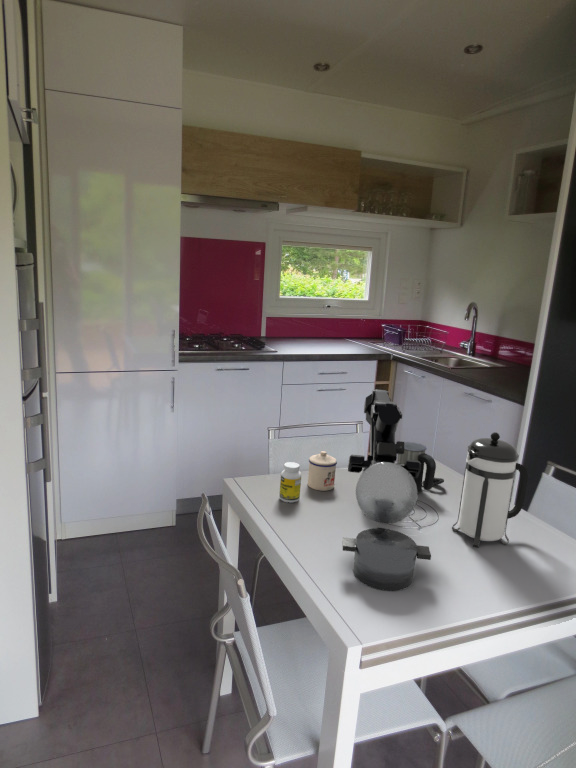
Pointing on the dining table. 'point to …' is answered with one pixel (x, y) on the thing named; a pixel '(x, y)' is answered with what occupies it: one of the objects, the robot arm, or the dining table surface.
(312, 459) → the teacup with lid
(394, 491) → the pot lid
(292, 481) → the pill bottle
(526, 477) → the coffee press
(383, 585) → the steel pot
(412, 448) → the milk frother
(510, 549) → the dining table surface
